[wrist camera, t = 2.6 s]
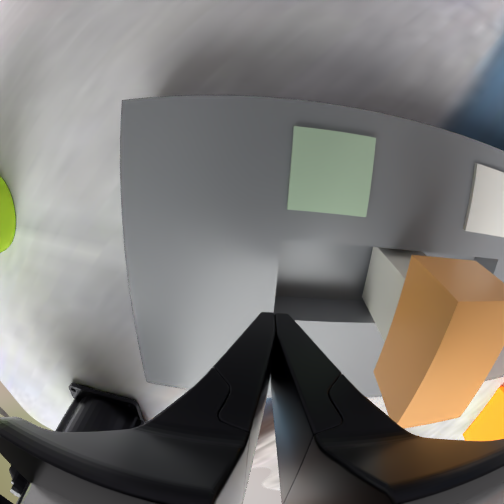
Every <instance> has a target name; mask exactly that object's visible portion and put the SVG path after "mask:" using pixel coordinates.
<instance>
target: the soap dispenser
mask: <svg viewBox="0 0 504 504" xmlns="http://www.w3.org/2000/svg"><path fill="white" fill-rule="evenodd" d="M15 227H16V217H15V209H14V204H13V200H12V196H11V194H10V191H9V189H8V187H7V185H6V183H5V182H4V180H3V179H2V178H1V177H0V253H1V252H2V251H4V250H6V249H7V248H8V247H9V246H10V245H11V243H12V241H13V238H14V234H15Z"/></svg>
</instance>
